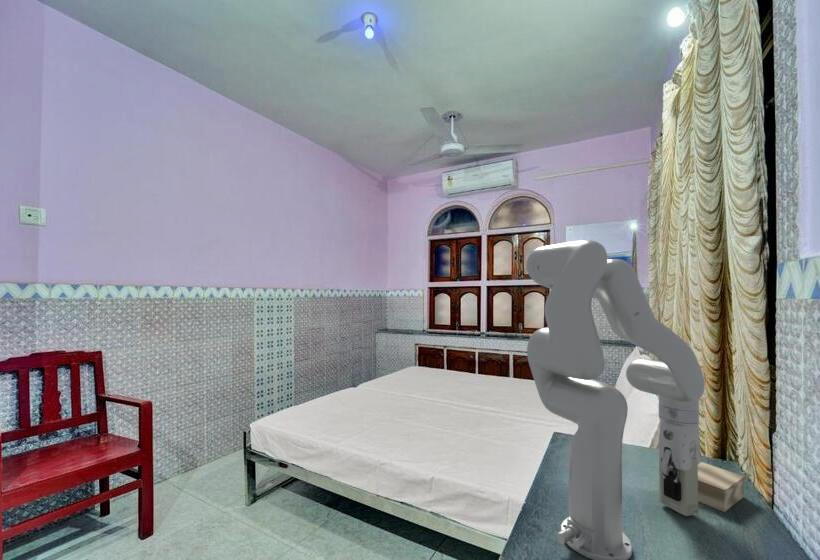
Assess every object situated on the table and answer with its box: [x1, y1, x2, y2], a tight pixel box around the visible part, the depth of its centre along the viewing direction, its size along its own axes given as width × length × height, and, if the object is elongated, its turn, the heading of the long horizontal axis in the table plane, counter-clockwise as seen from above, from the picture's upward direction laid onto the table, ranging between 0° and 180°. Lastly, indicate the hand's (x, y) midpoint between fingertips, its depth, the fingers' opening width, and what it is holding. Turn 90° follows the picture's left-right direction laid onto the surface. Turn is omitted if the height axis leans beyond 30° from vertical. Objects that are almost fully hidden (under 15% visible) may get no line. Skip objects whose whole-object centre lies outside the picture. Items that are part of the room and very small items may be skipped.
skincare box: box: [658, 457, 699, 517], centre depth 83 cm, size 6×4×12 cm
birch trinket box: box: [698, 461, 746, 513], centre depth 90 cm, size 12×9×5 cm
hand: (678, 494), depth 83 cm, fingers closed on skincare box, 5 cm apart
